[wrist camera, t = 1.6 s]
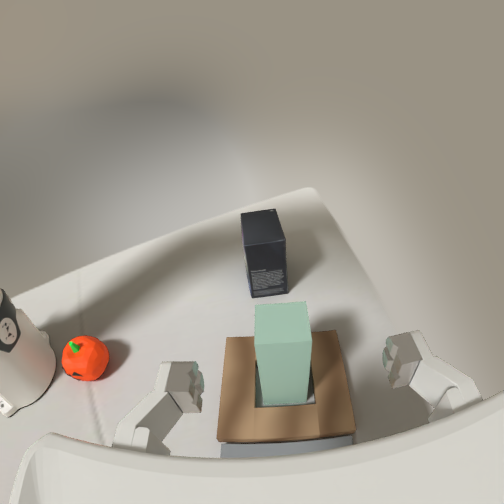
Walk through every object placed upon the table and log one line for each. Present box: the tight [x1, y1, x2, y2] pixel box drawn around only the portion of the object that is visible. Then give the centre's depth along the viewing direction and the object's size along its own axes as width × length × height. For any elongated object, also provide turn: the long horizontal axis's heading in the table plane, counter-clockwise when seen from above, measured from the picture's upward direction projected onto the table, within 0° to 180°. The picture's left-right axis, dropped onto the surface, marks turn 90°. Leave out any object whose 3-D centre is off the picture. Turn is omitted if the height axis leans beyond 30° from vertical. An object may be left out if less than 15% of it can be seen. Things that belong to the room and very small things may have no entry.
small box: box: [241, 209, 289, 298], centre depth 49 cm, size 11×6×10 cm, turn 5°
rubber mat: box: [220, 435, 353, 458], centre depth 20 cm, size 14×14×1 cm
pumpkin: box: [62, 335, 109, 381], centre depth 35 cm, size 7×8×6 cm
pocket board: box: [217, 330, 356, 442], centre depth 33 cm, size 15×15×1 cm
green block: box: [254, 301, 312, 405], centre depth 30 cm, size 5×5×12 cm
